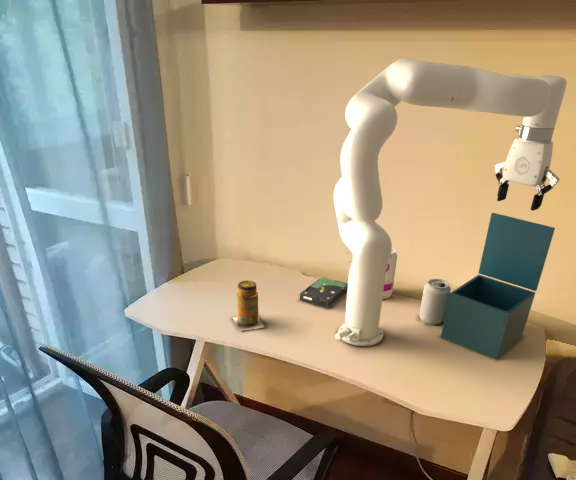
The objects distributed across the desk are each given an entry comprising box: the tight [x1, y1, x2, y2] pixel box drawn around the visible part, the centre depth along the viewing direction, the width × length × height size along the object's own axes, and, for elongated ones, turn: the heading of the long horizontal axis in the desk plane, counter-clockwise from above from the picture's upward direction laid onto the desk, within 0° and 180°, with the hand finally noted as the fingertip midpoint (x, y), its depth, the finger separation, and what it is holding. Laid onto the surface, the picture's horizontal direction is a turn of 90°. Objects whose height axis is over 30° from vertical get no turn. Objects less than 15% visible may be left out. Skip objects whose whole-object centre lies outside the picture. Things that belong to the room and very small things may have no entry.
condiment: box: [232, 280, 265, 331], centre depth 155 cm, size 7×8×12 cm
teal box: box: [440, 274, 537, 360], centre depth 149 cm, size 17×17×14 cm
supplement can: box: [382, 247, 398, 300], centre depth 170 cm, size 8×8×15 cm
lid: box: [478, 212, 556, 292], centre depth 147 cm, size 17×17×7 cm
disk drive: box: [299, 276, 348, 309], centre depth 172 cm, size 10×3×15 cm
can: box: [418, 278, 452, 326], centre depth 158 cm, size 8×8×12 cm
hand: (517, 204), depth 142 cm, fingers open, 9 cm apart
